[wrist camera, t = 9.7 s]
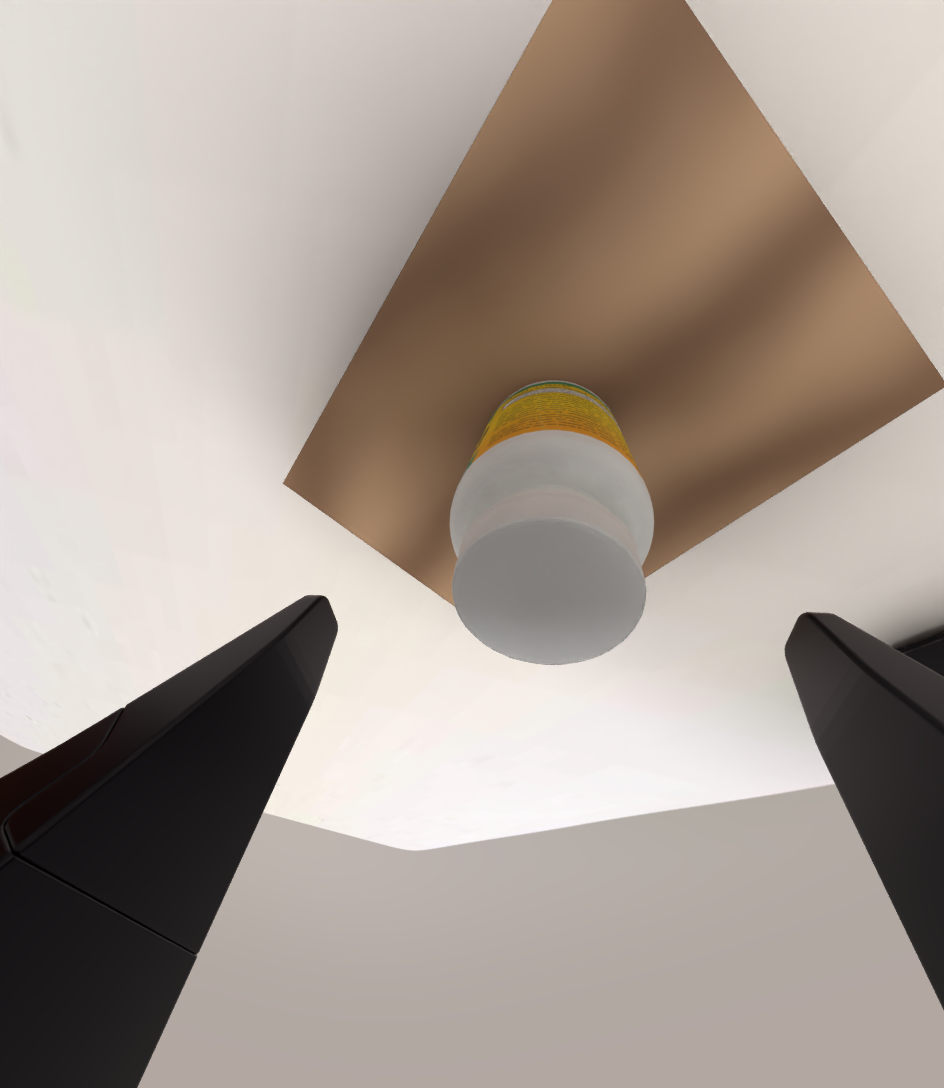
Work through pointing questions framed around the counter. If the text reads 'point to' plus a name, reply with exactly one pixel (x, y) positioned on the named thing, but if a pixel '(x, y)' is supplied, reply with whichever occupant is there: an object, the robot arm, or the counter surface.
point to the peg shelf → (617, 298)
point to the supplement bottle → (551, 529)
